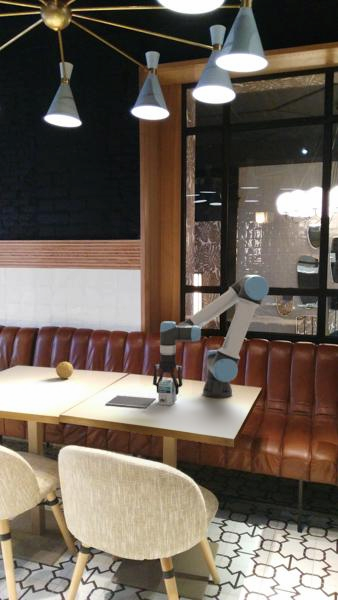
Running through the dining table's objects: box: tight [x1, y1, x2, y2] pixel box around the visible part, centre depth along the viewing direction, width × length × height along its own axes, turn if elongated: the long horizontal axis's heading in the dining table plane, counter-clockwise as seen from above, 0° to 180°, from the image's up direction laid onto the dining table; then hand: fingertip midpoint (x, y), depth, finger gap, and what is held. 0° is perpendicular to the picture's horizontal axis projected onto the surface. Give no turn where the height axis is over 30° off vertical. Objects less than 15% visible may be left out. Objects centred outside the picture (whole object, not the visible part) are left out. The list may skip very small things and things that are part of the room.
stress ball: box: [55, 361, 74, 380], centre depth 280 cm, size 10×10×10 cm
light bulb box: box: [158, 377, 175, 406], centre depth 232 cm, size 11×7×11 cm, turn 168°
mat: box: [105, 394, 156, 409], centre depth 232 cm, size 20×16×1 cm
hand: (167, 400), depth 232 cm, fingers closed on light bulb box, 7 cm apart
